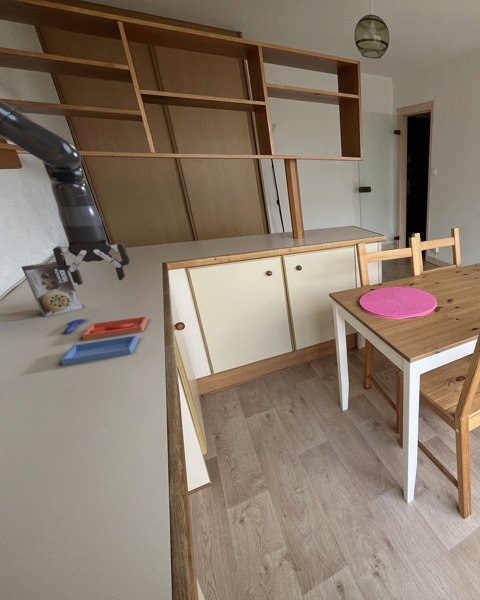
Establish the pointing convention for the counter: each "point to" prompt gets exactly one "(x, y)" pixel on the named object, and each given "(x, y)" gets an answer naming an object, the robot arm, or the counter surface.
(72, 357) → the blue tray
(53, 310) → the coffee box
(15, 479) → the counter surface
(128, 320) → the red tray
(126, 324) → the red spoon
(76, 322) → the blue spoon
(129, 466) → the counter surface
